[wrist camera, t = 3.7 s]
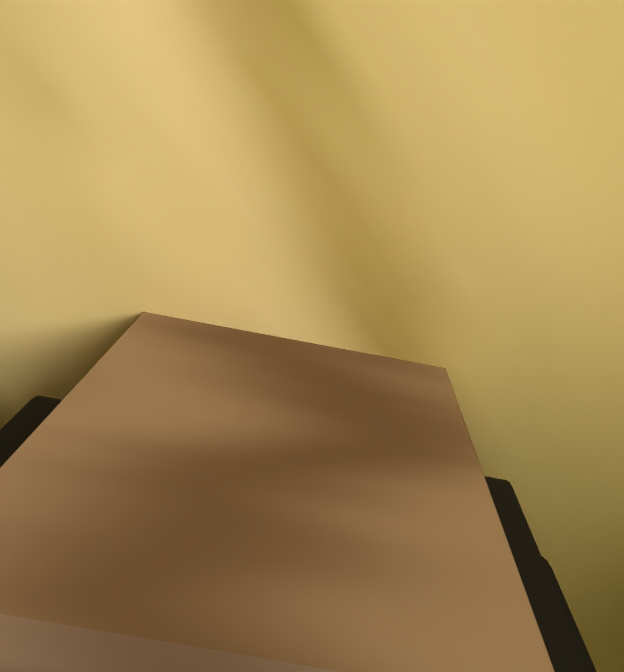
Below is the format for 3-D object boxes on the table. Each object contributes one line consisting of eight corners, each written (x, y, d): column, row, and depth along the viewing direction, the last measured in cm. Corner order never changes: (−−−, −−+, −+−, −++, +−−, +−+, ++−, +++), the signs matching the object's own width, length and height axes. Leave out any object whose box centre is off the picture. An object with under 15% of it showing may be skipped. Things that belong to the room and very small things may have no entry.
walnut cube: (444, 365, 10) (568, 710, 4) (374, 565, 12) (396, 927, 7) (145, 310, 9) (-116, 594, 4) (141, 524, 12) (-19, 861, 7)
